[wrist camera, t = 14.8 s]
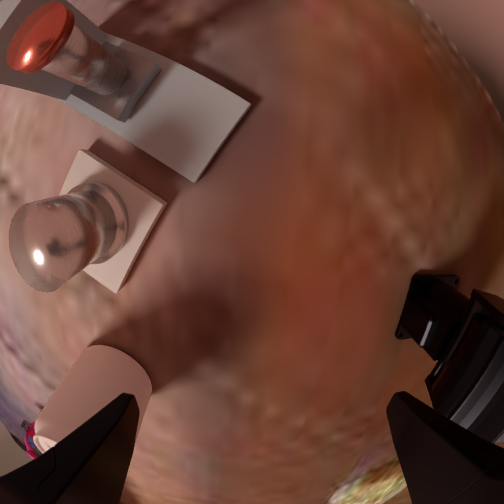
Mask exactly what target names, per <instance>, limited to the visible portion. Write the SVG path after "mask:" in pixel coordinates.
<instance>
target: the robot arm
mask: <svg viewBox="0 0 504 504" xmlns="http://www.w3.org/2000/svg"><path fill="white" fill-rule="evenodd" d="M417 279H418V280H417ZM416 280H417V282H416ZM455 280H456V281H455ZM459 282H460V278H459V277H458V276H456V275H414V276H413V277H412V279H411V283H410V287H409V290H408V294H407V298H406V301H405V304H404V308H403V311H402V314H401V317H400V320H399V324H398V327H397V329H396V332H395V337H396V338H397V339H399V340H400V339H408V338H412V339H413V340H414V341H415V342H416V343H417V344H418V345H419V347H421V348H423V349H424V350H425V351H426V352H427V353H428V355H429V356H430V357H431V358H432V359H433V360H434V361H436V360H438V362H437V364H436V365H435V367H434V368H433V370H432V372H431V373H430V375H428V376H427V378H426V379H425V383H426V386H427V389H428V392H429V395H430V398H431V401H432V406H433V408H431V407H429V406H428V405H426V404H425V403H423V402H421V401H420V400H418V399H417V398H415V397H413V396H412V395H410V394H409V393H407V392H405V391H401V392H397V393H395V394H394V395H393V397H392V399H391V400H390V402H389V404H388V406H387V409H386V413H387V417H388V421H389V426H390V430H391V435H392V439H393V443H394V447H395V450H396V453H397V456H398V459H399V462H400V465H401V468H402V471H403V474H404V477H405V481H406V484H407V487H408V491H409V494H410V497H411V501H412V504H504V448H502V447H500V446H497V445H495V444H494V443H504V299H502V298H500V297H499V296H497V295H493V294H490V293H486V292H483V291H480V290H476V289H473V291H472V293H471V298H470V299H469V298H467V297H466V296H465V295H463V294H462V293H460V292H459V291H457V288H458V285H459ZM399 334H400V335H399ZM139 415H140V410H139V407H138V404H137V400H136V397H135V396H134V395H133V394H129V393H121V394H120V395H119V396H117V397H116V398H115V399H114V400H112V401H111V402H110V403H109V404H107V405H106V406H105V407H103V408H102V409H101V410H100V411H98V412H97V413H96V414H95V415H93V416H92V417H91V418H89V419H88V420H87V421H86V422H84V423H83V424H82V425H80V426H79V427H78V428H77V429H75V430H74V431H73V432H71V433H70V434H69V435H67V436H66V437H65V438H63V439H62V440H61V441H59V442H58V443H57V444H55V446H53V447H51V448H50V449H49V450H47V451H46V452H44V453H43V454H42V455H40V456H39V457H37V458H36V459H34V460H32V461H30V462H29V463H27V464H25V465H23V466H21V467H20V468H17V469H16V470H14V471H12V472H10V473H8V474H6V475H4V476H1V477H0V504H119V502H120V498H121V494H122V491H123V487H124V483H125V479H126V476H127V472H128V469H129V465H130V462H131V458H132V455H133V451H134V445H135V439H136V433H137V427H138V421H139Z"/></svg>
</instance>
